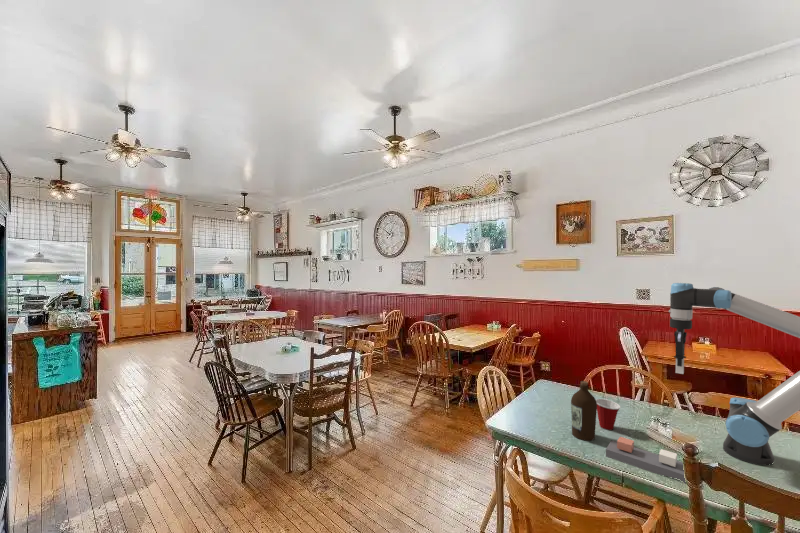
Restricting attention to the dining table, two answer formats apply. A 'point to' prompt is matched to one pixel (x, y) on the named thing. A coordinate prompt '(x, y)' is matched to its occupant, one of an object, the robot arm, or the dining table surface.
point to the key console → (645, 461)
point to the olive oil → (583, 413)
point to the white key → (667, 457)
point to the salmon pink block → (625, 444)
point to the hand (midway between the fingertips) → (679, 373)
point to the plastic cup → (607, 413)
